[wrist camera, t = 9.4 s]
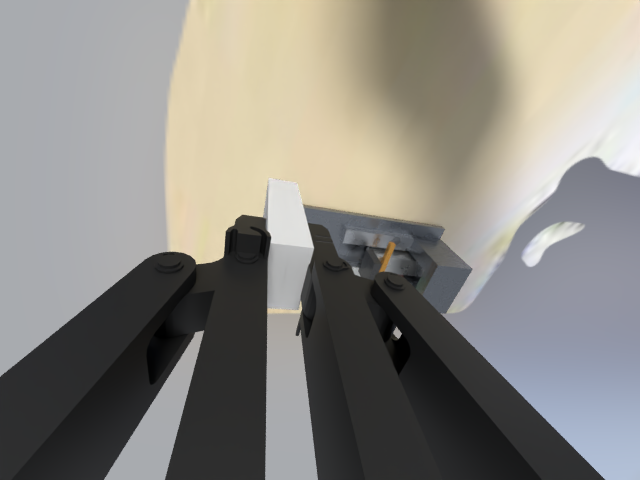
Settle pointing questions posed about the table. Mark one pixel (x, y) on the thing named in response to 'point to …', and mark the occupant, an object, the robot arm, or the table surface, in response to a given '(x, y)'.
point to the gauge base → (363, 221)
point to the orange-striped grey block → (388, 262)
